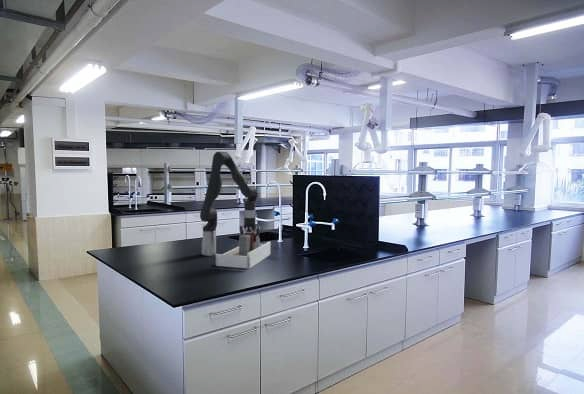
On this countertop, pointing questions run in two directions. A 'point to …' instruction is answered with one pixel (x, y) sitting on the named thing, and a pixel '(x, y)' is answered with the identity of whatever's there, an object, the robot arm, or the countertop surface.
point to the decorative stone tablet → (247, 243)
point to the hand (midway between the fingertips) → (249, 241)
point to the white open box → (243, 257)
